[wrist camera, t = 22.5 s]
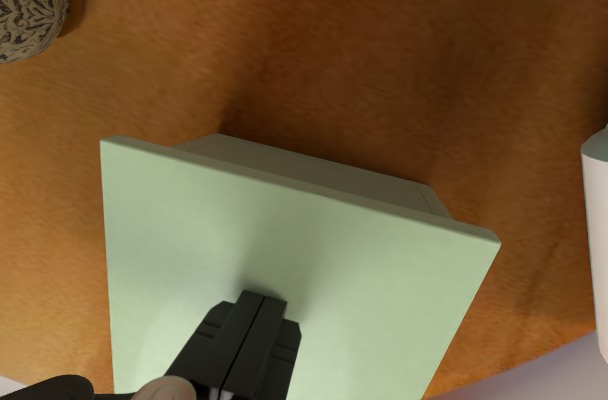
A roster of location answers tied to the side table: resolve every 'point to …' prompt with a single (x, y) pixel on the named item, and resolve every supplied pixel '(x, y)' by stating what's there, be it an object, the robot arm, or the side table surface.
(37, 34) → the cup
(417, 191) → the chest
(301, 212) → the lid
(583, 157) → the can
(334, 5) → the side table surface
